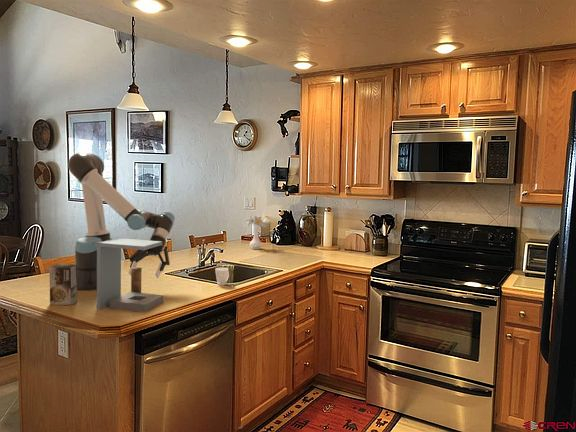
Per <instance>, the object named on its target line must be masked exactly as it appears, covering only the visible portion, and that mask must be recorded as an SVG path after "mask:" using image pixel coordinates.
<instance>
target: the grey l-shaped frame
mask: <svg viewBox="0 0 576 432" xmlns="http://www.w3.org/2000/svg"><path fill="white" fill-rule="evenodd" d="M111 239H112V240H107V241H102V242H98V243H97V289H96V309H97V310H101V309H104V308H106V307H108V306H109V307H110V301H111V300H113V299H115V298H118V297H120V296H122V289H121V287H122V286H121V285H122V249H125V250H135V251H137V250H147V249H150V248H153V247H157V246H160V245H162V241H150V239H148V240H145V239H134V238H122V237H117V238H111Z"/></svg>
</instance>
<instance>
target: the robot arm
mask: <svg viewBox="0 0 576 432" xmlns="http://www.w3.org/2000/svg"><path fill="white" fill-rule="evenodd" d="M67 168H68V171H70V173H71V175H73V176H74V177H75V179H77V181H78V183H79V184H81V188H82V195H83V203H84V210H85V217H86V224H87V225H86V226H87V232H86V233H85V237H80V238H78V239H77V240H76V241H75V246H74V250H75V251H74V252H75V255H74V257H75V258H74V259H75V260H74V261H75V263H74V265H77V290H81V291H82V290H84V291H86V290H87V291H89V290H97V243H98V242H102V241H107V240H112V239H113V238H111V233H110V231H109V230H107V226H106V219H105V210H104V202H105V203H106V204H107V205H108V206H109V207H110V208H111V209H112V210H114V211H115V213H117V214H118V215H119V216H120V217H121V218H122V219H123V220H124V221H125V222H126V223H127V226H128V228H129V229H131V230H133V231H140V230H142V229H146V228H149V229H150V228H151V229H154V230H153V232H152V234H151V237H150V239H149V241H162V245H160V246H157V247H153V248H150V249H147V250H135V252H134V253H133V254H132V255H131V256H130V257H129V258H128V259H129V261H130V262H131V263H130V265H129V268H130V269H129V271H128V274H129V275H130V276H131V268H134V267H137V265H138V263H139V262H141V261H142V260H143V259H144V258H146V257H149V256H158V258H159V259H160V262H159V264H158V267H157V269H156V272H155V274H154V275H155V277H156V278H157V279H159V278H160V275H161V273H162V272H164V269H165V267H166V266H170V264H171V262H170V258H169V251H170V249H169V247H168V246H165V245H166V243H167V239H168V237H169V234H170V232H171V230H172V228H173V226H174V222H175V220H176V218H175V215H174V214H173V213H172V212H170V211H167V210H166V211H162V212H161V213H160V214H158V213H154V212H149V211H146V210H140V209H137V208H136V207H135V206H134V205H133V204H132V203H131V202H130V201H129V200H127V199H126V198H125V197H124V196H123V195H122V194H121V193H120V192H119V191H118V190H117V189H116V188H115V187H114V186H112V184H110V183H109V182H108V181H107V180H106V179H105V178H104V177H103V173H104V171H105V164H104V161H103V159H102V158H101V157H100V156H98V155H96V154H94V153H85V152H84V153H83V152H78V153H77V152H76V153H75V154H73V155H72V156H70V158H69V159H68V162H67ZM103 201H104V202H103ZM162 252H163V253H164V258H165V260H164V258H163V256H162V254H161V253H162Z"/></svg>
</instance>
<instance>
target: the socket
mask: <svg viewBox="0 0 576 432" xmlns="http://www.w3.org/2000/svg"><path fill="white" fill-rule="evenodd" d="M164 297H165V295H164V294H155V293H147V292H141V293H137V292H131V291H130V292H127V293H125V294H121V296H120V297H118V298H115V299H113V300H111V301H110V305H109V308H110V309H113V310H114V309H116V310H122V311H123V310H125V311H133V312H134V311H135V312H140V313H141V312H143V313H145V312H147V311H150V310H151V309H153V308H154V307H155V308H156V307H157V306H158V305H159V306H160V305H161V304H162V303H164V302H165V301H164Z"/></svg>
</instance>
